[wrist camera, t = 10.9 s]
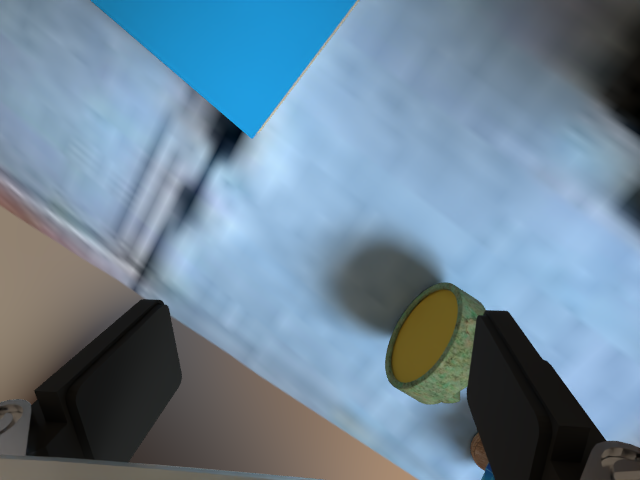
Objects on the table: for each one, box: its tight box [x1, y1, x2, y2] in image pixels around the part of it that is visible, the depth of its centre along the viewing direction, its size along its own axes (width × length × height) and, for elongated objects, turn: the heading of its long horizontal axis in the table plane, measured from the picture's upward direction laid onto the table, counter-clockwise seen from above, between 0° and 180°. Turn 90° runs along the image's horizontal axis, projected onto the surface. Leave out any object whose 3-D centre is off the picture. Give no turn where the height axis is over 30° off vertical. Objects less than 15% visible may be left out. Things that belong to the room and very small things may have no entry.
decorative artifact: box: [385, 283, 486, 404], centre depth 31 cm, size 10×7×10 cm
